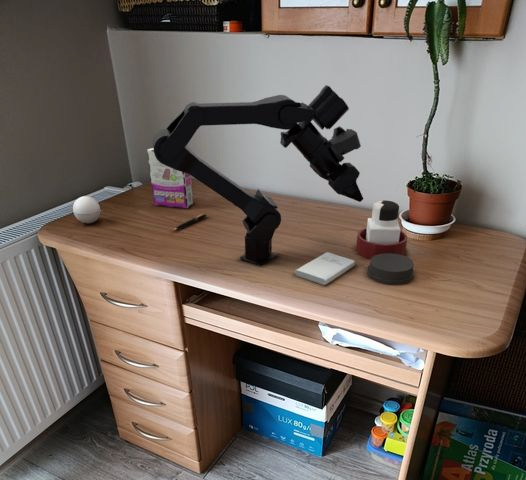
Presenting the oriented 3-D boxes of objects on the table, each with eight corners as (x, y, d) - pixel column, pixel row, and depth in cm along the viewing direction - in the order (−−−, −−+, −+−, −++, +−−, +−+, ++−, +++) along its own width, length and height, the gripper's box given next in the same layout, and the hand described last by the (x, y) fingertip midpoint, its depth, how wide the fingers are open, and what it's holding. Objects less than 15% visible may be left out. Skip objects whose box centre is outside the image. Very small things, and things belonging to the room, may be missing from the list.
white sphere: (70, 225, 143) (64, 199, 139) (87, 216, 149) (82, 191, 145) (99, 230, 140) (93, 204, 136) (115, 221, 146) (111, 195, 141)
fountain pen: (174, 233, 138) (173, 227, 137) (170, 232, 139) (170, 227, 138) (208, 217, 148) (207, 212, 147) (205, 216, 148) (204, 211, 147)
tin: (392, 265, 121) (394, 249, 118) (347, 253, 126) (349, 237, 124) (412, 248, 128) (415, 233, 126) (369, 237, 134) (371, 222, 132)
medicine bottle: (393, 245, 130) (400, 198, 123) (396, 257, 124) (403, 208, 117) (364, 244, 131) (370, 197, 124) (366, 256, 125) (372, 207, 118)
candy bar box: (194, 203, 157) (189, 147, 148) (187, 209, 153) (182, 151, 144) (161, 200, 160) (154, 145, 150) (153, 205, 156) (146, 149, 146)
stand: (402, 289, 111) (404, 276, 109) (358, 276, 116) (360, 264, 114) (421, 271, 118) (423, 259, 116) (379, 260, 123) (380, 248, 121)
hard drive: (295, 275, 117) (325, 257, 124) (325, 286, 112) (354, 266, 120) (295, 269, 116) (325, 251, 123) (325, 279, 111) (355, 260, 119)
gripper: (356, 126, 102) (398, 180, 111) (326, 109, 117) (365, 157, 126) (314, 168, 105) (358, 217, 114) (291, 146, 120) (332, 191, 129)
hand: (354, 193), depth 120 cm, fingers open, 9 cm apart
